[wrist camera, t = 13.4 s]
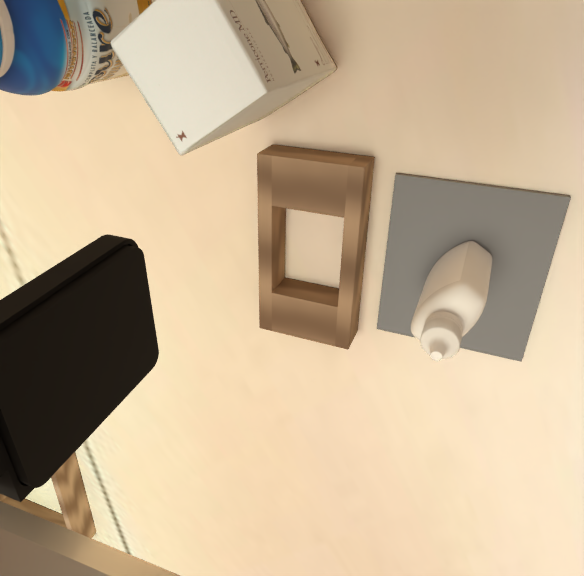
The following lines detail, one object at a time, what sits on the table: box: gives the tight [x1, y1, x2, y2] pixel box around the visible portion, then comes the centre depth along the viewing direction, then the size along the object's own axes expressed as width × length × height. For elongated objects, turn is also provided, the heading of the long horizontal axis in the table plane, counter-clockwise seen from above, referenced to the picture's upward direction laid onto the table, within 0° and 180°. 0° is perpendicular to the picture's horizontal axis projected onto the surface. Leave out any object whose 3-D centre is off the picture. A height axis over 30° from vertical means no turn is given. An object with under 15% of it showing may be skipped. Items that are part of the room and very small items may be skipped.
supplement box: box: [111, 0, 337, 155], centre depth 33 cm, size 7×7×13 cm
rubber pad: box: [377, 173, 571, 361], centre depth 41 cm, size 14×12×1 cm
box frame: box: [0, 452, 96, 538], centre depth 81 cm, size 21×19×4 cm
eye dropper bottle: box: [411, 241, 492, 361], centre depth 36 cm, size 4×6×12 cm
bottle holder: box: [257, 145, 375, 349], centre depth 43 cm, size 16×8×3 cm, turn 179°
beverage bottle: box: [0, 0, 155, 95], centre depth 33 cm, size 8×8×20 cm
